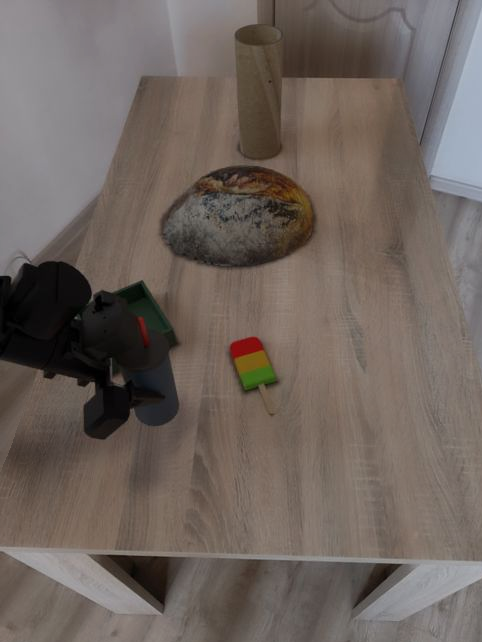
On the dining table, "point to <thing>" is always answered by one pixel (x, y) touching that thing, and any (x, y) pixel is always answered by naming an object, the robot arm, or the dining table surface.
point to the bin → (142, 312)
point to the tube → (259, 89)
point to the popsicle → (253, 366)
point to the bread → (239, 217)
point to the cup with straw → (151, 375)
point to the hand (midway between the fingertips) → (161, 377)
